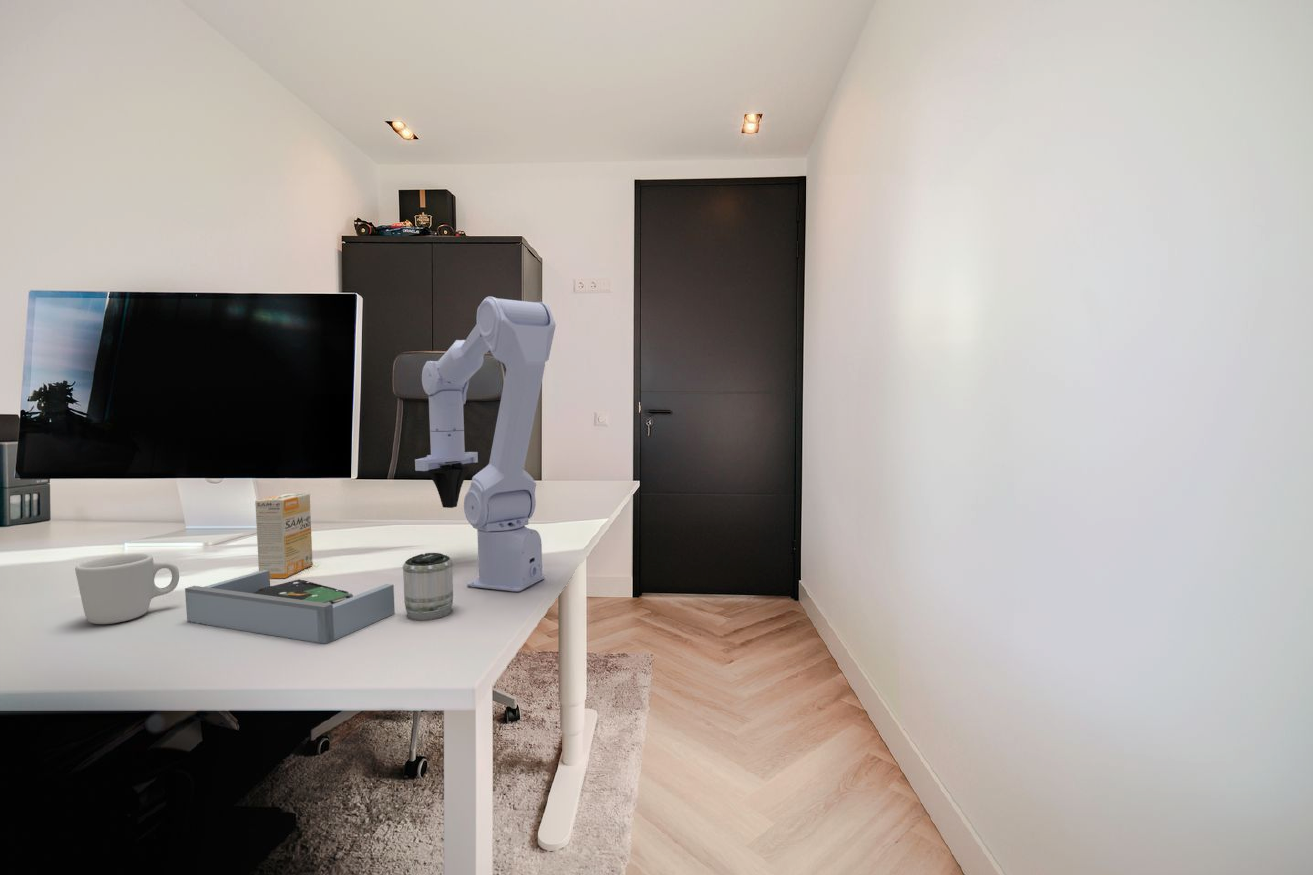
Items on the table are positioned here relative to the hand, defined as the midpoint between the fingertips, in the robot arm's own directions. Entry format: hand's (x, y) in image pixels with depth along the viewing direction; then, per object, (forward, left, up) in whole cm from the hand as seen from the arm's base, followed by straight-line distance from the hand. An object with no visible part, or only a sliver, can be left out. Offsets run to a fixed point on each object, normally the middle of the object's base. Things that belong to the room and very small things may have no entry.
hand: (449, 507), depth 112 cm
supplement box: (+23, +14, -10) cm, 29 cm away
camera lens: (-15, +23, -10) cm, 29 cm away
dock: (+2, +30, -10) cm, 32 cm away
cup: (+24, +37, -10) cm, 45 cm away
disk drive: (+5, +28, -11) cm, 31 cm away
